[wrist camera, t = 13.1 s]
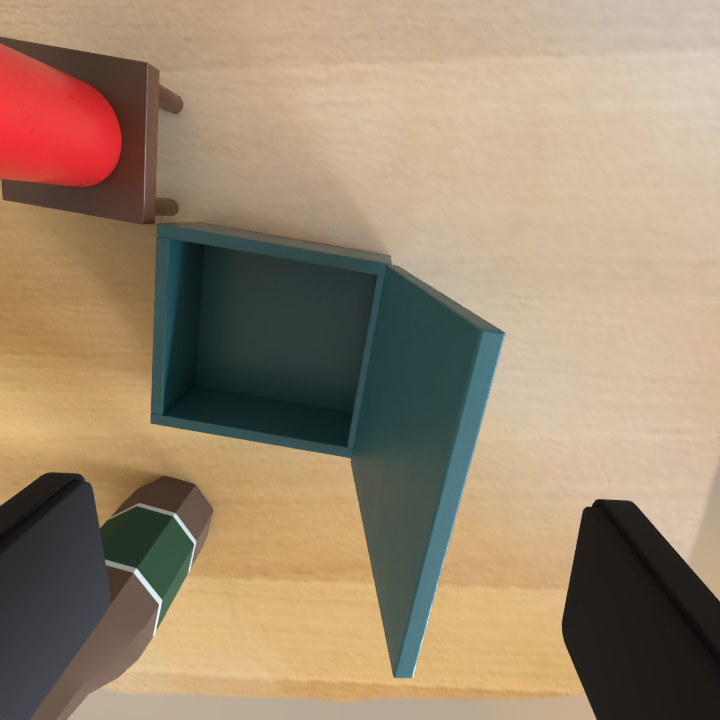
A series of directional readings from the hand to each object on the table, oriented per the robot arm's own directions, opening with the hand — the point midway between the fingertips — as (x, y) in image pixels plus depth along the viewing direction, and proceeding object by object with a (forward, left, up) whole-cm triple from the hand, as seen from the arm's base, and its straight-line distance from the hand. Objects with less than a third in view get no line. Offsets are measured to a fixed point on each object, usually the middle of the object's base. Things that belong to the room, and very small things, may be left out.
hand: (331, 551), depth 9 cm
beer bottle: (-14, -22, -28) cm, 39 cm away
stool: (-19, +8, -28) cm, 35 cm away
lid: (+2, -3, -13) cm, 14 cm away
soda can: (-19, +8, -22) cm, 31 cm away
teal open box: (-6, -3, -28) cm, 29 cm away
